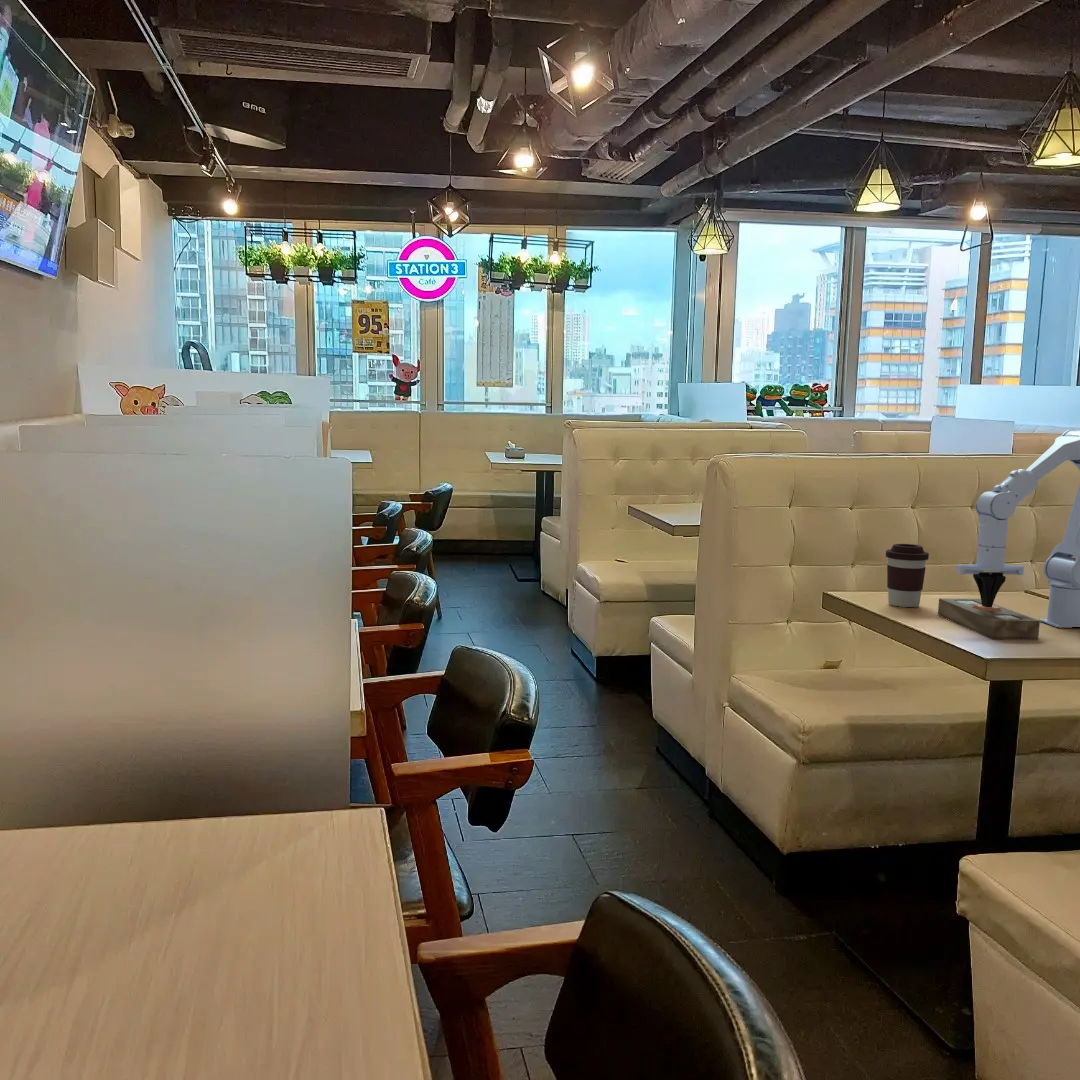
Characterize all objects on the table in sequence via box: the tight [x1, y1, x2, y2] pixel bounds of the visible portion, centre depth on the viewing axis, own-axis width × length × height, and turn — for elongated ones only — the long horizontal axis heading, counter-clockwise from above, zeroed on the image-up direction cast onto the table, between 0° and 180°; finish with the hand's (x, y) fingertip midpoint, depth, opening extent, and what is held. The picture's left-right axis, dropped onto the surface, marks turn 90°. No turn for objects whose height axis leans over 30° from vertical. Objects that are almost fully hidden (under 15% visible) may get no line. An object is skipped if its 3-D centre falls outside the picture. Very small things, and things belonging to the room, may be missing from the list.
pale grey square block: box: [993, 615, 1019, 619], centre depth 215 cm, size 4×4×3 cm
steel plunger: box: [957, 601, 979, 604], centre depth 232 cm, size 4×4×3 cm
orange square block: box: [974, 604, 1000, 611], centre depth 223 cm, size 4×4×3 cm
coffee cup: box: [885, 543, 930, 608], centre depth 247 cm, size 10×10×15 cm
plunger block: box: [937, 597, 1041, 640], centre depth 224 cm, size 10×25×4 cm, turn 4°
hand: (986, 606), depth 223 cm, fingers closed, pressing on orange square block
